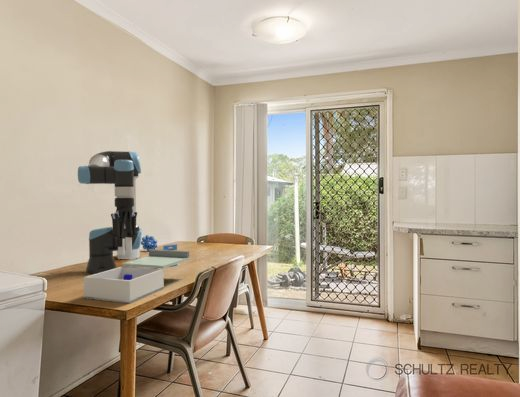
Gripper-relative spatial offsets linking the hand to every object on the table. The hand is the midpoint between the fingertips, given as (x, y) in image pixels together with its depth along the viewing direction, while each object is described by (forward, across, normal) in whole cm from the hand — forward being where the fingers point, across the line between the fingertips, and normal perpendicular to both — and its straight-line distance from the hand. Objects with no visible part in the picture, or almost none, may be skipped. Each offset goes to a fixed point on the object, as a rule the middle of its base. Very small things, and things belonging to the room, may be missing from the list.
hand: (125, 253), depth 148 cm
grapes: (+17, -97, -59) cm, 115 cm away
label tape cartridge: (+17, -55, -15) cm, 59 cm away
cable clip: (+16, +2, 0) cm, 16 cm away
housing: (+17, 0, 0) cm, 17 cm away
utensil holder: (+17, -71, -56) cm, 92 cm away
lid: (+8, -22, 0) cm, 23 cm away
